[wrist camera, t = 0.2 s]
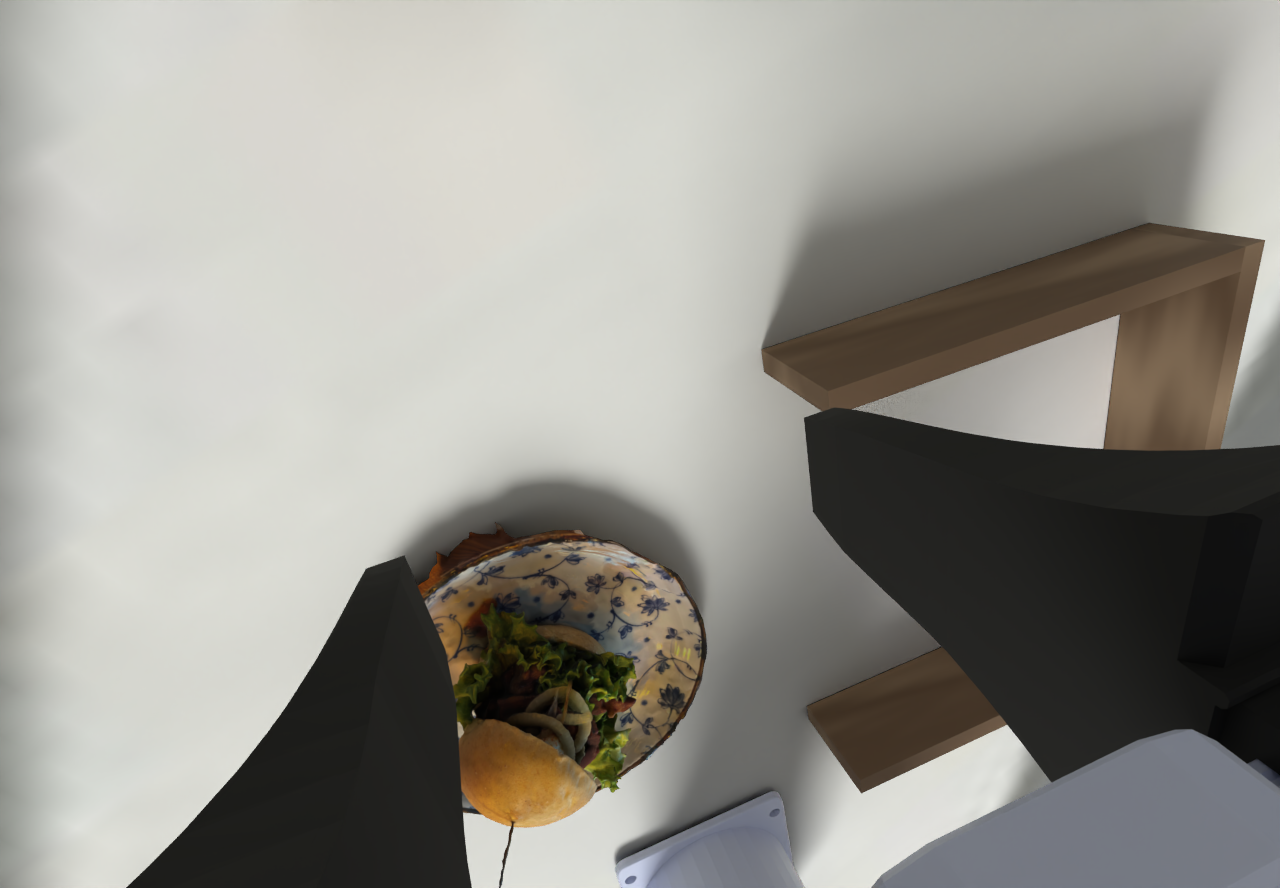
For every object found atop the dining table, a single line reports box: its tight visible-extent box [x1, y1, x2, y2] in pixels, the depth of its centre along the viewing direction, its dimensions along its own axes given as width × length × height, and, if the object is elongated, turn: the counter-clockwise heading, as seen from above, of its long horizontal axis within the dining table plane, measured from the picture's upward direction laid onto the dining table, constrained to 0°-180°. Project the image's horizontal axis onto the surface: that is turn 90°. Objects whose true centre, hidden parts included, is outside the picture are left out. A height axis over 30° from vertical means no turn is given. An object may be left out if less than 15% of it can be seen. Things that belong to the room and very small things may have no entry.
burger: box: [418, 522, 707, 888], centre depth 23 cm, size 12×12×8 cm
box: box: [762, 223, 1265, 793], centre depth 27 cm, size 18×16×4 cm
